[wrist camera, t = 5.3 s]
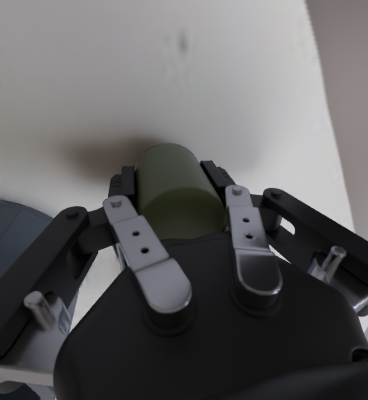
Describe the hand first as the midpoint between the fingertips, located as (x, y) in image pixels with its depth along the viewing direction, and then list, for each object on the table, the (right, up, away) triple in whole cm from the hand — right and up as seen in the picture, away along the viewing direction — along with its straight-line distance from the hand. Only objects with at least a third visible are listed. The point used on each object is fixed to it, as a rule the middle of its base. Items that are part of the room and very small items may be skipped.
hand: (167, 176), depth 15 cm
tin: (0, 0, 0) cm, 0 cm away
